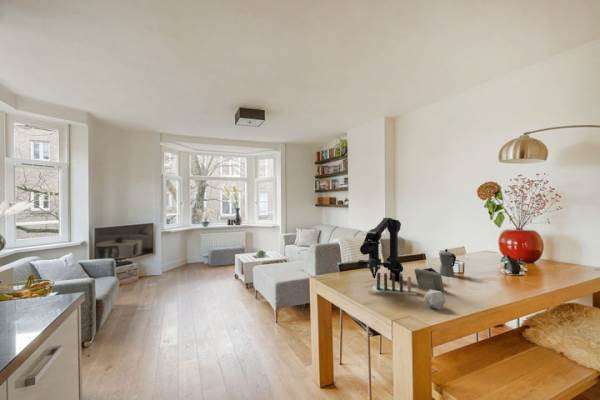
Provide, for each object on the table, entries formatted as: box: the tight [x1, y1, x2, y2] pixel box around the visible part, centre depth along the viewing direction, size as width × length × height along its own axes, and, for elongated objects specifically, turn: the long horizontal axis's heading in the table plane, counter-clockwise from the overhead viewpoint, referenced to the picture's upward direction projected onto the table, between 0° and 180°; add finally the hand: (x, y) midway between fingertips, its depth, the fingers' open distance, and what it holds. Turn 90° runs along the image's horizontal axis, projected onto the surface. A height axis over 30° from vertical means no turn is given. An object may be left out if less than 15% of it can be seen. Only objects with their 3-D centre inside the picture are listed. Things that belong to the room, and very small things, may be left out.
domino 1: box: [376, 272, 381, 290], centre depth 162 cm, size 2×5×9 cm, turn 162°
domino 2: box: [383, 272, 388, 291], centre depth 161 cm, size 2×5×9 cm, turn 161°
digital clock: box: [414, 268, 445, 291], centre depth 162 cm, size 16×9×11 cm, turn 25°
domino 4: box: [399, 273, 404, 292], centre depth 158 cm, size 2×5×9 cm, turn 161°
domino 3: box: [391, 274, 396, 291], centre depth 159 cm, size 2×5×9 cm, turn 162°
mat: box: [371, 285, 417, 296], centre depth 159 cm, size 24×10×1 cm, turn 71°
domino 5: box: [406, 274, 412, 293], centre depth 156 cm, size 2×5×9 cm, turn 162°
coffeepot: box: [438, 248, 457, 278], centre depth 189 cm, size 15×9×18 cm, turn 9°
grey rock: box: [423, 289, 446, 310], centre depth 134 cm, size 8×9×10 cm
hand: (374, 278), depth 163 cm, fingers closed
